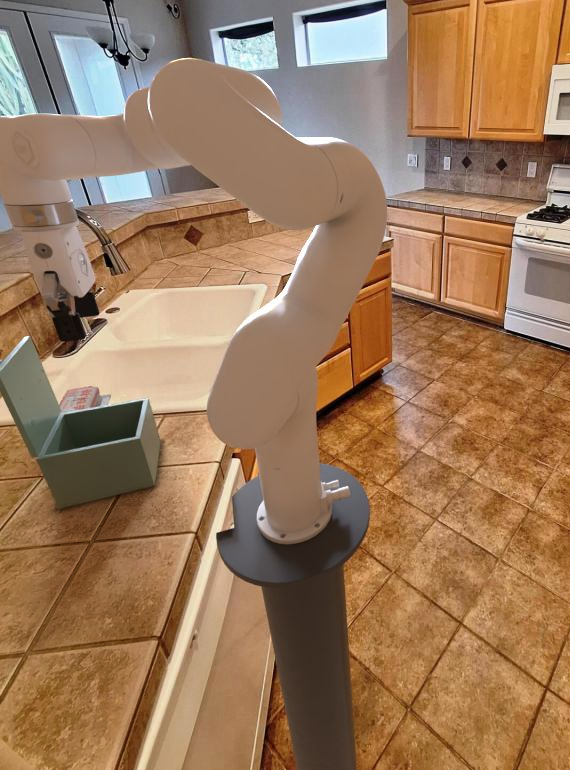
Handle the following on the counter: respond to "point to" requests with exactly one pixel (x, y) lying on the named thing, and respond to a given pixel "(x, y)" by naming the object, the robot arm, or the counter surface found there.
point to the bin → (101, 452)
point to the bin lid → (28, 395)
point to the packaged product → (83, 399)
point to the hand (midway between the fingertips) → (81, 327)
